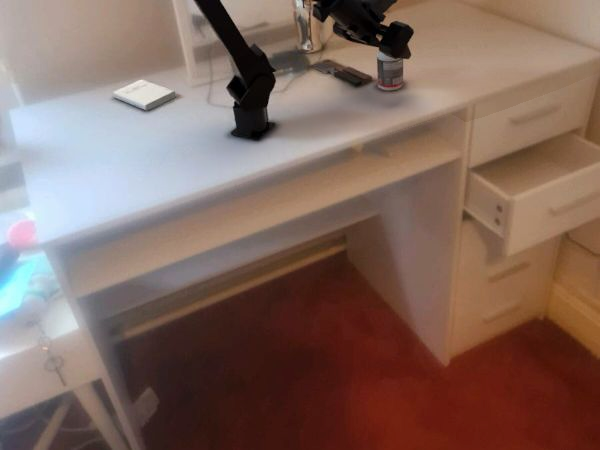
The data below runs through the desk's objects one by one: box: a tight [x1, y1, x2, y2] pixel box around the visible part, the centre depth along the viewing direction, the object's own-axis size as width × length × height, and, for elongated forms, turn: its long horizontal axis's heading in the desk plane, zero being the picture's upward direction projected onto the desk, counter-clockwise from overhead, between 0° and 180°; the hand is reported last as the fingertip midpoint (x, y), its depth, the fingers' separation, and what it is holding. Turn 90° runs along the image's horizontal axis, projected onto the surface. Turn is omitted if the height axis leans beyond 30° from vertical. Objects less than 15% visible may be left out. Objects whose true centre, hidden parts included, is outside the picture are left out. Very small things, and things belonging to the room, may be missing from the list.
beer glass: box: [290, 0, 323, 54], centre depth 143 cm, size 7×7×15 cm
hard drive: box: [112, 79, 177, 112], centre depth 134 cm, size 2×8×12 cm
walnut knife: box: [321, 59, 373, 84], centre depth 135 cm, size 16×2×1 cm, turn 34°
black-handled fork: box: [311, 61, 363, 88], centre depth 134 cm, size 16×3×1 cm, turn 34°
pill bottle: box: [376, 50, 404, 92], centre depth 124 cm, size 5×5×10 cm
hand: (394, 50), depth 123 cm, fingers open, 9 cm apart
